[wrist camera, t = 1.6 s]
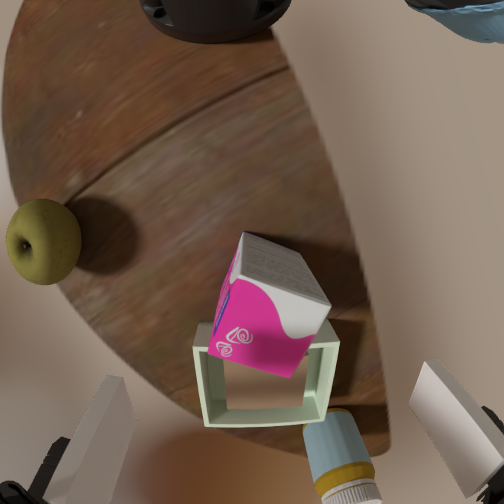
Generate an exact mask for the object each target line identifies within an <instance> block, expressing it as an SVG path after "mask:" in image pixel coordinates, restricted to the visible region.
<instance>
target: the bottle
mask: <svg viewBox="0 0 504 504" xmlns="http://www.w3.org/2000/svg"><path fill="white" fill-rule="evenodd" d="M303 436H304V441H305V445H306V450H307V454H308V459H309V463H310V467H311V472H312V477H313V481H314V486H315V489H316V491H317V493H318V494H319V495H320V496H321V499H322V503H323V504H381V503H382V498H381V495H380V493H379V490H378V488H377V486H376V483H375V481H374V474H375V470H374V467H373V464H372V462H371V459H370V457H369V454H368V452H367V449H366V447H365V445H364V442H363V440H362V437H361V435H360V432H359V430H358V428H357V425H356V423H355V420H354V418H353V416H352V414H351V413H350V412H349V411H348V410H346V409H341V408H327V411H326V415H325V419H324V421H321V422H313V423H305V424H304V426H303Z"/></svg>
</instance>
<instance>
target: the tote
mask: <svg viewBox="0 0 504 504" xmlns="http://www.w3.org/2000/svg"><path fill="white" fill-rule="evenodd" d="M213 324H214V322H199V324H198V328H197V332H196V336H195V339H194V343H193V353H194V361H195V368H196V375H197V382H198V388H199V395H200V401H201V407H202V413H203V419H204V424H205V427H263V426H281V425H294V424H304V423H313V422H321V421H324V419H325V415H326V411H327V406H328V402H329V397H330V393H331V388H332V383H333V378H334V373H335V368H336V362H337V357H338V351H339V345H340V340H339V339H338V337H337V335H336V333H335V331H334V330H333V328H332V326H331V324H330V322H329V321H328V319H327V318H326V319H325V320H324V322H323V324H322V325H321V327H320V329H319V331H318V333H317V335H316V336H315V338H314V340H313V342H312V343H311V345H310V347H309V349H308V350H307V351H308V354H309V360H308V368H307V376H306V384H305V391H304V398H303V405H302V406H295V407H282V408H264V409H227V401H226V389H225V377H224V363H223V359H222V358H219V357H216V356H213V355H210V354H208V353H207V351H208V347H209V342H210V338H211V333H212V329H213Z"/></svg>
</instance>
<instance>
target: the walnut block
mask: <svg viewBox="0 0 504 504" xmlns="http://www.w3.org/2000/svg"><path fill="white" fill-rule="evenodd" d="M308 360H309V354H308V351H307V352H306V354H305V355H304V357H303V359H302V360H301V362H300V364H299V365H298V367H297V369H296V370H295V372H294V373H293V375H292V376H291V378H286V377H282V376H279V375H275V374H272V373H269V372H265V371H262V370H258V369H255V368H252V367H249V366H245V365H242V364H239V363H235V362H232V361H228V360H225V359H223V363H224V377H225V389H226V401H227V409H264V408H282V407H295V406H302V405H303V398H304V391H305V384H306V376H307V368H308Z"/></svg>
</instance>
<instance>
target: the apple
mask: <svg viewBox="0 0 504 504" xmlns="http://www.w3.org/2000/svg"><path fill="white" fill-rule="evenodd" d="M81 242H82V241H81V231H80V227H79V224H78V221H77V219H76V217H75V216H74V215H73V213H72V212H71V211H70V210H69V209H68V208H66V207H65V206H63V205H62V204H60V203H58V202H55V201H53V200H49V199H35V200H31V201H29V202H27V203H25V204H24V205H22V206H21V207H20V208H19V209H18V210H17V211H16V212H15V214H14V215H13V217H12V219H11V221H10V223H9V226H8V228H7V233H6V246H7V252H8V256H9V258H10V261H11V263H12V264H13V266H14V268H15V269H16V270H17V272H18V273H19V274H20V275H21V276H22V277H23V278H25V279H26V280H28V281H30V282H32V283H35V284H39V285H51V284H54V283H57V282H59V281H61V280H62V279H64V278H65V277H66V276H67V275H68V274H69V273H70V272H71V271H72V269H73V268H74V266H75V265H76V263H77V260H78V258H79V255H80V250H81Z"/></svg>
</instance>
